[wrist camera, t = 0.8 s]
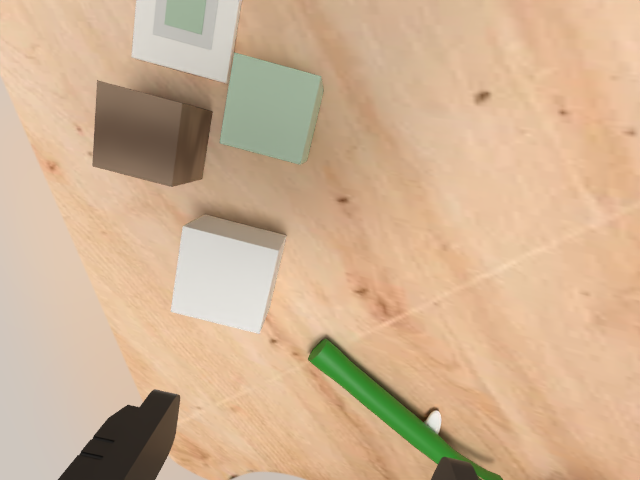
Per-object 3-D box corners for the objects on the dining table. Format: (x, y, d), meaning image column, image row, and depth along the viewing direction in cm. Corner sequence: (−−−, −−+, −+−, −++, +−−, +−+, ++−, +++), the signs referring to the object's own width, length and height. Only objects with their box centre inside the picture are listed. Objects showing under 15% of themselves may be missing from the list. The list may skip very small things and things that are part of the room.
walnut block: (145, 93, 28) (97, 80, 23) (212, 111, 29) (182, 103, 23) (138, 162, 30) (92, 166, 24) (202, 179, 30) (171, 186, 25)
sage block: (255, 72, 28) (234, 52, 22) (324, 90, 28) (321, 76, 22) (242, 143, 29) (219, 143, 24) (307, 161, 29) (300, 164, 24)
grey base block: (206, 213, 31) (182, 226, 27) (287, 234, 32) (278, 250, 27) (194, 288, 34) (170, 311, 29) (270, 307, 34) (259, 333, 29)
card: (146, -68, 25) (140, -75, 24) (248, -39, 25) (245, -45, 25) (135, 59, 28) (130, 56, 27) (228, 84, 28) (225, 82, 27)
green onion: (307, 350, 36) (496, 508, 39) (303, 369, 33) (509, 539, 36) (337, 321, 35) (529, 486, 38) (336, 337, 32) (546, 516, 35)
